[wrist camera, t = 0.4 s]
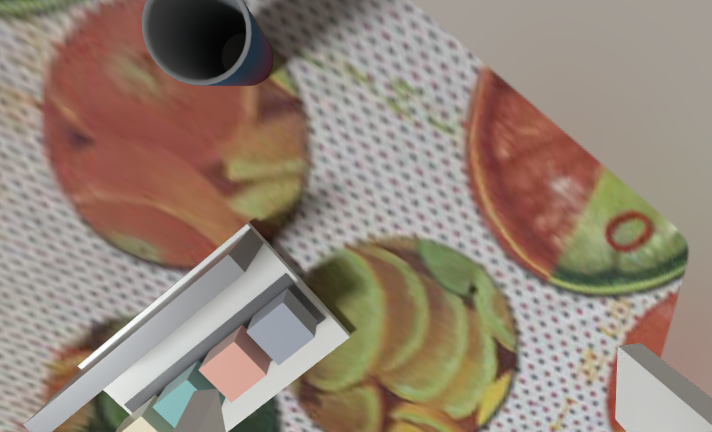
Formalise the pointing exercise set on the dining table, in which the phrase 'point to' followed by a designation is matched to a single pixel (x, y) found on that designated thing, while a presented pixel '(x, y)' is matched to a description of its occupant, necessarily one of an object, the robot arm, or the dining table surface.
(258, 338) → the slate key
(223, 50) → the cup
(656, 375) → the robot arm
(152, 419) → the sand key
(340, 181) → the dining table surface
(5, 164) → the dining table surface
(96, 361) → the keypad
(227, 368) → the coral key
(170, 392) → the teal key
